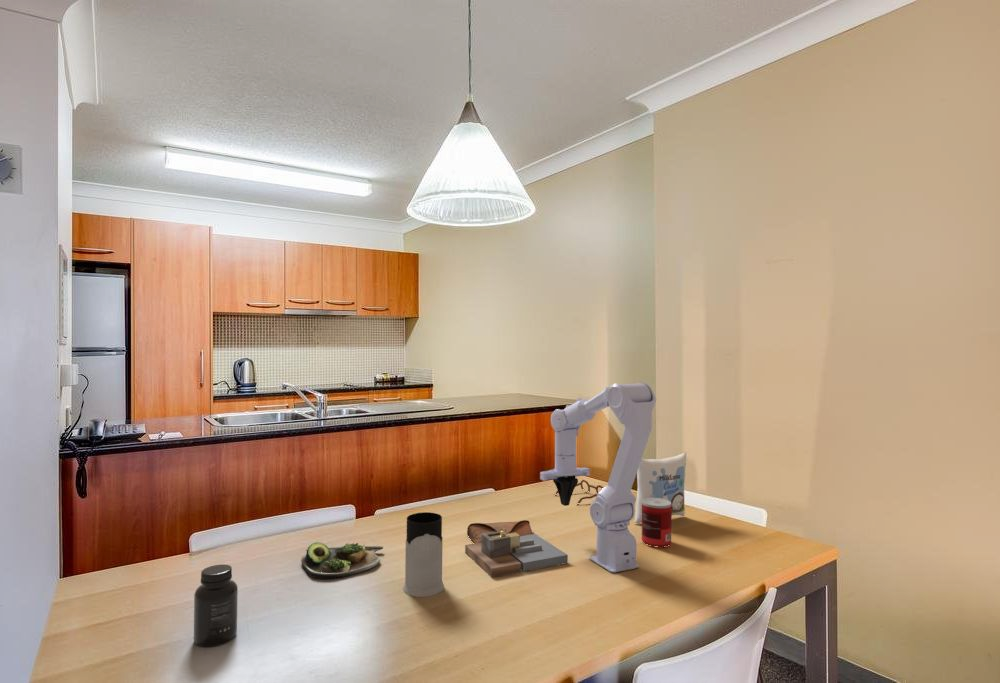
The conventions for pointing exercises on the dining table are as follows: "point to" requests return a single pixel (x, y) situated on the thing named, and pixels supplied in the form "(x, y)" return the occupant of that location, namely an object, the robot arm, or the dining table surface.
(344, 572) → the salad plate
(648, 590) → the dining table surface
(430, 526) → the glass holder
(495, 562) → the panel
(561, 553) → the door leaf
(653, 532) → the canned food
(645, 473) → the pouch
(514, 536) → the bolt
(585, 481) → the glasses
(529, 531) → the sunglasses case
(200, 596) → the supplement bottle
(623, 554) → the robot arm
